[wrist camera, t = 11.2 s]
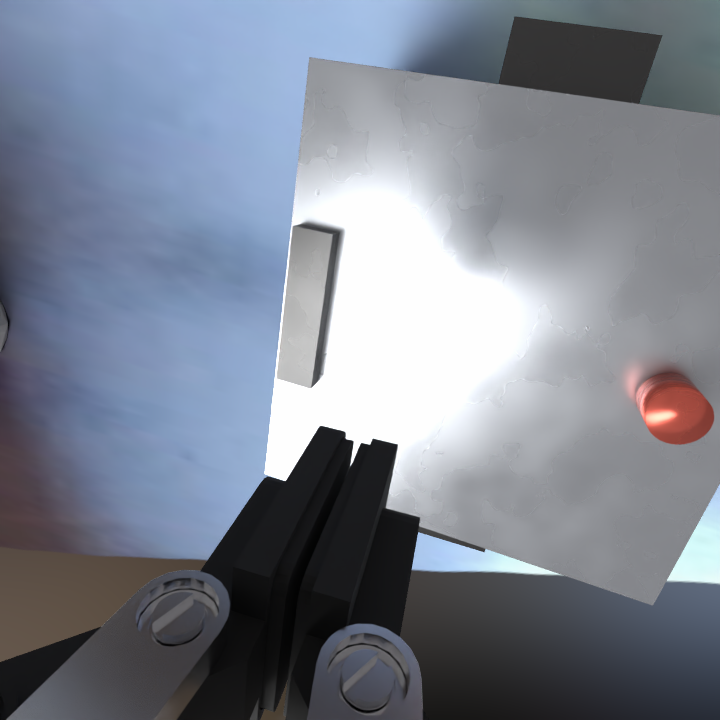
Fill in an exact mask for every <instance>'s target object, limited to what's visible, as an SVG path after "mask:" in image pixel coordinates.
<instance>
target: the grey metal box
mask: <svg viewBox="0 0 720 720" xmlns="http://www.w3.org/2000/svg"><path fill="white" fill-rule="evenodd" d="M661 38H662V35H656V34H648V33H640V32H632V31H624V30H616V29H608V28H600V27H592V26H585V25H577V24H569V23H561V22H553V21H545V20H537V19H529V18H522V17H514V22H513V26H512V30H511V34H510V38H509V42H508V46H507V51H506V55H505V59H504V63H503V67H502V71H501V75H500V80H499V84H501V85H508V86H515V87H522V88H529V89H536V90H543V91H550V92H558V93H565V94H572V95H579V96H586V97H593V98H600V99H607V100H614V101H621V102H628V103H635V104H639V102H640V99H641V96H642V93H643V90H644V87H645V84H646V81H647V78H648V75H649V73H650V70H651V67H652V64H653V61H654V58H655V55H656V52H657V49H658V46H659V44H660V41H661ZM418 532H420V533H423V534H427V535H430V536H433V537H436V538H440V539H443V540H446V541H449V542H453V543H456V544H459V545H462V546H466V547H469V548H472V549H476V550H479V551H482V552H485V548H482V547H479V546H476V545H473V544H470V543H467V542H464V541H461V540H458V539H455V538H453V537H450V536H447V535H444V534H441V533H438V532H435V531H432V530H429V529H426V528H423V527H420V526H419V529H418Z"/></svg>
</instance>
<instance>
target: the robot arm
mask: <svg viewBox="0 0 720 720" xmlns="http://www.w3.org/2000/svg"><path fill="white" fill-rule="evenodd" d="M353 446H354V441H353V440H349V439H346V432H345V431H342V430H338V429H334V428H330V427H326V426H322V425H321V426H319V427H318V429H317V430H316V432H315V434H314V435H313V437H312V439H311V440H310V442H309V444H308V445H307V447H306V448H305V450H304V452H303V453H302V455H301V457H300V458H299V460H298V461H297V463H296V465H295V466H294V468H293V470H292V471H291V473H290V475H289V476H288V478H287V479H286V481H283V480H279V479H276V478H272V477H266V478H264V480H263V481H262V482H261V483H260V485H259V486H258V488H257V489H256V491H255V492H254V493H253V495H252V496H251V498H250V499H249V501H248V502H247V504H246V505H245V507H244V508H243V510H242V511H241V512H240V514H239V515H238V517H237V518H236V520H235V521H234V523H233V524H232V526H231V527H230V528H229V530H228V531H227V533H226V534H225V536H224V537H223V539H222V540H221V542H220V543H219V545H218V546H217V547H216V549H215V550H214V552H213V553H212V555H211V556H210V558H209V559H208V561H207V562H206V563H205V565H204V566H203V568H202V570H201V571H197V570H181V571H175V572H170V573H167V574H164V575H162V576H160V577H158V578H155V579H153V580H152V581H150V582H149V583H147V584H146V585H145V586H144V587H142V588H141V589H140V590H139V591H137V592H136V593H135V594H134V595H133V596H132V597H131V599H129V600H128V601H127V602H126V603H125V604H124V605H123V606H122V607H121V608H120V609H119V610H118V611H117V612H116V613H115V614H114V615H113V616H112V617H111V618H110V619H109V620H108V621H107V622H106V623H105V624H104V625H103V626H102V627H99V628H96V629H93V630H91V631H88V632H85V633H82V634H79V635H76V636H73V637H71V638H68V639H65V640H62V641H59V642H56V643H54V644H51V645H48V646H45V647H42V648H39V649H36V650H34V651H31V652H28V653H25V654H22V655H19V656H16V657H14V658H11V659H8V660H5V661H2V662H0V720H260V719H261V716H262V714H263V711H264V709H267V710H270V711H273V712H275V710H276V708H277V706H278V703H279V701H280V699H281V696H282V693H283V691H284V688H285V685H286V682H287V680H288V682H287V690H286V698H285V706H284V716H286V720H430V719H429V718H428V716H427V715H426V713H425V712H424V710H423V709H422V684H421V683H422V682H421V675H420V670H419V664H418V662H417V660H416V658H415V656H414V654H413V652H412V650H411V649H410V648H409V647H408V646H407V644H406V643H405V642H404V641H403V640H402V639H401V638H400V632H401V627H402V621H403V615H404V609H405V604H406V598H407V592H408V586H409V581H410V575H411V569H412V564H413V558H414V552H415V547H416V541H417V535H418V529H419V524H420V517H417V516H413V515H409V514H406V513H402V512H398V511H395V510H391V509H387V508H386V504H387V499H388V494H389V489H390V484H391V479H392V474H393V469H394V464H395V459H396V454H397V449H398V444H394V443H390V442H386V441H382V440H378V439H374V438H373V439H372V441H371V443H370V445H369V444H365V443H361V444H360V446H359V448H358V450H357V453H356V455H355V457H354V460H353V462H352V464H351V459H352V453H353ZM350 465H351V467H350Z"/></svg>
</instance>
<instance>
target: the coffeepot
mask: <svg viewBox="0 0 720 720" xmlns="http://www.w3.org/2000/svg"><path fill="white" fill-rule="evenodd" d="M7 334H8V321H7V317H6V313H5V310H4V308H3V305H2V303H1V301H0V352H1V350H2V348H3V345H4V343H5V341H6V338H7Z"/></svg>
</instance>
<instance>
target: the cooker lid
mask: <svg viewBox="0 0 720 720" xmlns="http://www.w3.org/2000/svg"><path fill="white" fill-rule="evenodd" d="M321 425H322V426H326V427H330V428H334V429H338V430H342V431H345V432H346V439H349V440H353V441H354V446H353V453H352V459H351V464H352V462H353V460H354V457H355V455H356V453H357V450H358V448H359V446H360V444H361V443H365V444H369V445H370V443H371V441H372V439H373V438H374V439H378V440H382V441H386V442H390V443H394V444H398V449H397V454H396V459H395V464H394V469H393V474H392V479H391V484H390V489H389V494H388V499H387V504H386V508H387V509H391V510H395V511H398V512H402V513H406V514H409V515H413V516H417V517H420V524H419V526H420V527H423V528H426V529H429V530H432V531H435V532H438V533H441V534H444V535H447V536H450V537H453V538H455V539H458V540H461V541H464V542H467V543H470V544H473V545H476V546H479V547H482V548H485V549H488V550H491V551H494V552H497V553H500V554H503V555H506V556H508V557H511V558H514V559H517V560H520V561H523V562H526V563H529V564H532V565H535V566H538V567H541V568H544V569H547V570H550V571H553V572H556V573H559V574H562V575H564V576H567V577H571V578H574V579H577V580H579V581H582V582H585V583H588V584H591V585H594V586H597V587H600V588H603V589H606V590H609V591H612V592H615V593H618V594H620V595H624V596H626V597H629V598H632V599H635V600H638V601H641V602H644V603H647V604H650V605H653V604H654V602H655V601H656V599H657V597H658V595H659V593H660V591H661V590H662V588H663V585H664V584H665V582H666V581H667V579H668V577H669V575H670V573H671V571H672V570H673V568H674V566H675V564H676V562H677V561H678V559H679V557H680V555H681V553H682V551H683V550H684V548H685V546H686V544H687V542H688V541H689V539H690V537H691V535H692V533H693V531H694V530H695V528H696V526H697V524H698V522H699V521H700V519H701V517H702V515H703V513H704V511H705V510H706V508H707V506H708V504H709V502H710V501H711V499H712V497H713V495H714V493H715V491H716V490H717V488H718V486H719V484H720V115H713V114H706V113H699V112H692V111H685V110H678V109H671V108H663V107H656V106H649V105H642V104H635V103H628V102H621V101H614V100H607V99H600V98H593V97H586V96H579V95H572V94H565V93H558V92H550V91H543V90H536V89H529V88H522V87H515V86H508V85H501V84H494V83H487V82H480V81H473V80H466V79H459V78H452V77H445V76H438V75H430V74H423V73H416V72H409V71H402V70H395V69H388V68H381V67H374V66H367V65H360V64H353V63H346V62H339V61H332V60H325V59H318V58H310V57H309V66H308V75H307V85H306V94H305V103H304V113H303V122H302V131H301V141H300V150H299V159H298V169H297V178H296V187H295V197H294V206H293V215H292V224H291V234H290V243H289V252H288V262H287V271H286V280H285V290H284V299H283V308H282V318H281V327H280V336H279V346H278V355H277V364H276V374H275V383H274V392H273V402H272V411H271V420H270V430H269V439H268V448H267V458H266V467H265V474H267V475H270V476H273V477H276V478H279V479H282V480H285V481H286V479H287V478H288V476H289V475H290V473H291V471H292V470H293V468H294V466H295V465H296V463H297V461H298V460H299V458H300V457H301V455H302V453H303V452H304V450H305V448H306V447H307V445H308V444H309V442H310V440H311V439H312V437H313V435H314V434H315V432H316V430H317V429H318V427H319V426H321ZM350 467H351V465H350Z"/></svg>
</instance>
